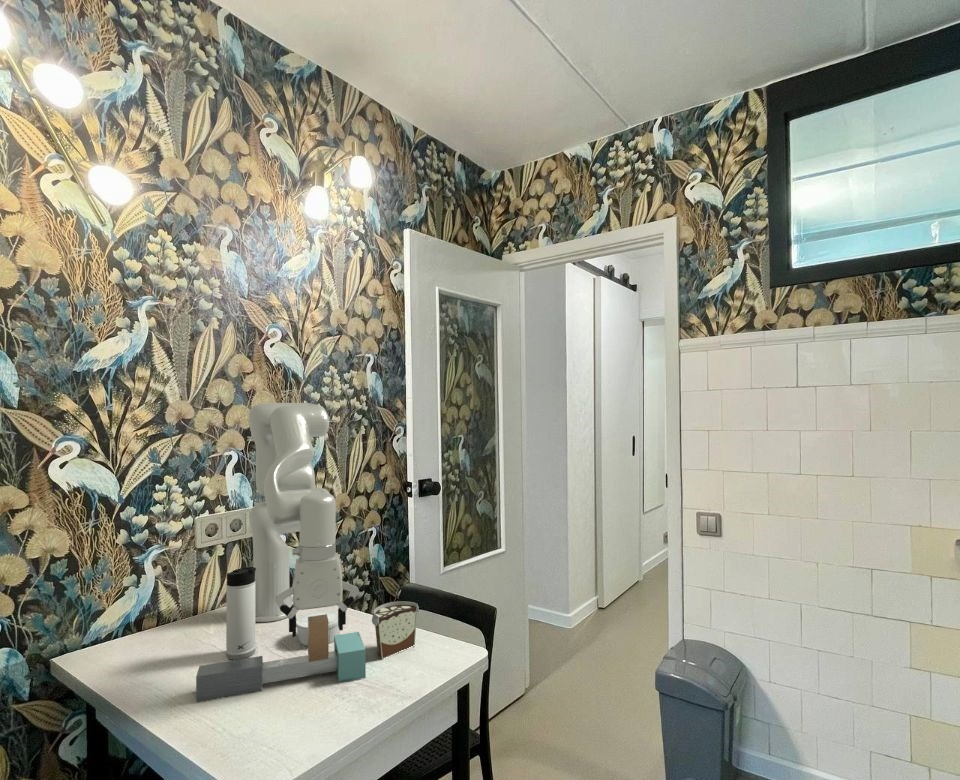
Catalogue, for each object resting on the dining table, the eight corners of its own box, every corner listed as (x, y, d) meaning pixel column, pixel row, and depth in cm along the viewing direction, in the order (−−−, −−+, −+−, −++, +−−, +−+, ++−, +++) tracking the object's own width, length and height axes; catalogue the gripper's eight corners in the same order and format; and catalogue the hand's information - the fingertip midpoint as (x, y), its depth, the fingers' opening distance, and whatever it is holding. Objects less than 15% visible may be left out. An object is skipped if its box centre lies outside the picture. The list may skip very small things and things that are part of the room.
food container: (404, 637, 137) (403, 597, 137) (419, 644, 133) (419, 603, 133) (361, 653, 128) (361, 610, 129) (376, 661, 124) (376, 616, 124)
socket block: (338, 682, 115) (338, 653, 115) (334, 662, 124) (334, 635, 124) (365, 678, 116) (365, 649, 117) (359, 658, 126) (358, 631, 126)
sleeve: (196, 702, 108) (196, 676, 108) (199, 690, 112) (199, 665, 112) (261, 690, 112) (261, 665, 112) (262, 679, 116) (262, 655, 117)
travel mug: (245, 661, 125) (246, 572, 126) (220, 659, 127) (220, 571, 127) (262, 649, 131) (262, 565, 132) (237, 647, 133) (237, 563, 133)
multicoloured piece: (252, 686, 112) (252, 631, 112) (253, 677, 115) (253, 624, 116) (347, 669, 118) (347, 617, 119) (345, 661, 122) (345, 611, 122)
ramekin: (297, 652, 130) (297, 629, 130) (293, 635, 140) (293, 614, 140) (345, 643, 134) (345, 622, 134) (338, 627, 144) (338, 607, 145)
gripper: (275, 560, 113) (274, 645, 112) (360, 552, 119) (360, 632, 118) (275, 551, 120) (274, 630, 119) (355, 543, 126) (355, 619, 125)
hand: (317, 631), depth 119 cm, fingers open, 9 cm apart
